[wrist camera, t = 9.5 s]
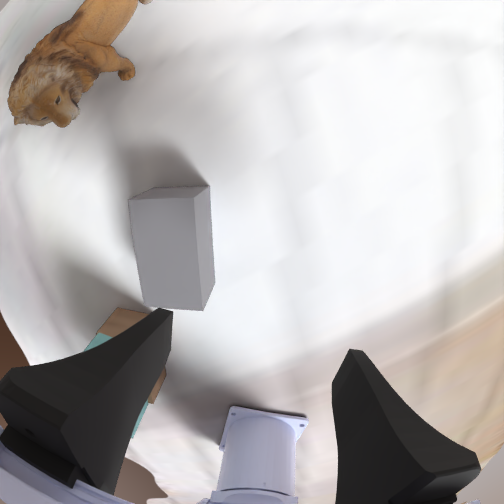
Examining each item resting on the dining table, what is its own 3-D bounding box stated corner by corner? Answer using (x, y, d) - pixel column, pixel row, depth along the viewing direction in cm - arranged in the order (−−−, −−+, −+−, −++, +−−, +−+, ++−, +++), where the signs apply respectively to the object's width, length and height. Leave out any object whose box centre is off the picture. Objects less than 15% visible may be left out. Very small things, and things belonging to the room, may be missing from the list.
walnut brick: (166, 374, 26) (153, 404, 23) (129, 365, 27) (113, 392, 23) (159, 315, 24) (141, 344, 20) (117, 306, 24) (95, 333, 20)
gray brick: (215, 281, 22) (203, 310, 18) (164, 279, 22) (144, 306, 19) (210, 185, 19) (193, 197, 16) (154, 187, 20) (128, 200, 16)
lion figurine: (121, 136, 18) (31, 147, 10) (71, 110, 18) (-19, 114, 10) (228, -35, 13) (197, -110, 5) (168, -49, 12) (117, -110, 4)
